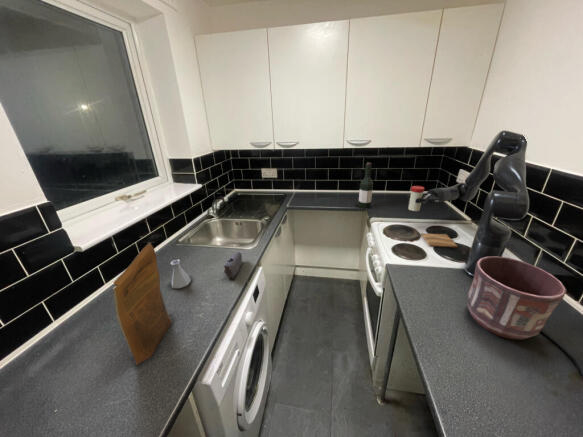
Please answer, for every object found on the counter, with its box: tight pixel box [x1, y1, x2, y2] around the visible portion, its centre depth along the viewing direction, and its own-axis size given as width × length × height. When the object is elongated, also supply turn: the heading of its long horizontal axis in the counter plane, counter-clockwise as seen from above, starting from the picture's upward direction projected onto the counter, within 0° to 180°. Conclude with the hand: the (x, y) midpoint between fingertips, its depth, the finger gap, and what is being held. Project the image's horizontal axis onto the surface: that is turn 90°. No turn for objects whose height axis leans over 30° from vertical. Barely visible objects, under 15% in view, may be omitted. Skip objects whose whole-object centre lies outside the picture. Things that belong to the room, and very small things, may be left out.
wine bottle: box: [357, 162, 374, 210], centre depth 153 cm, size 8×8×30 cm
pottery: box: [466, 256, 567, 341], centre depth 65 cm, size 18×18×18 cm
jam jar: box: [407, 190, 424, 212], centre depth 120 cm, size 6×6×12 cm
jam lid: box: [410, 185, 425, 193], centre depth 118 cm, size 6×6×2 cm
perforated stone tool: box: [223, 251, 243, 279], centre depth 96 cm, size 15×5×7 cm, turn 172°
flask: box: [170, 259, 192, 289], centre depth 89 cm, size 7×7×10 cm
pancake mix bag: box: [111, 242, 172, 366], centre depth 63 cm, size 7×19×28 cm, turn 179°
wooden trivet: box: [420, 232, 459, 249], centre depth 113 cm, size 12×12×1 cm
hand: (411, 199), depth 119 cm, fingers closed on jam jar, 5 cm apart
